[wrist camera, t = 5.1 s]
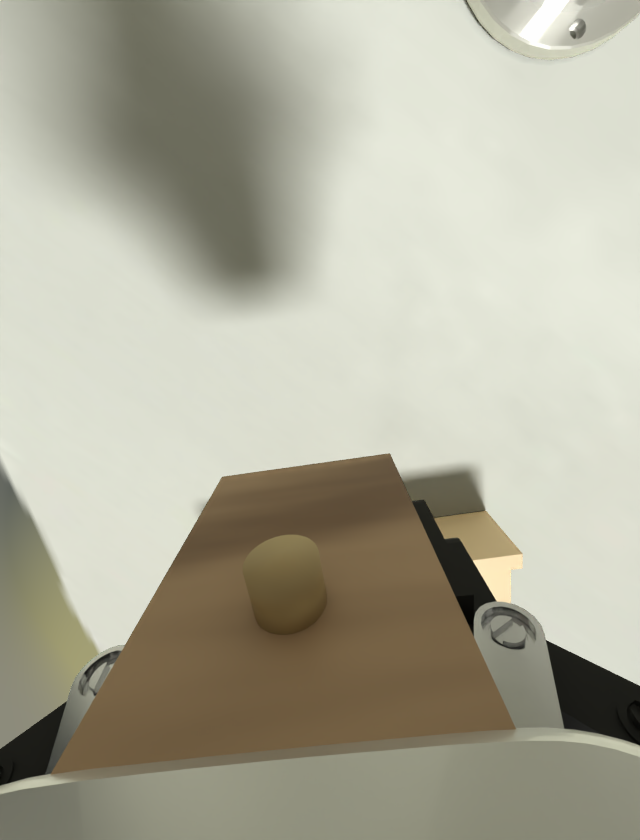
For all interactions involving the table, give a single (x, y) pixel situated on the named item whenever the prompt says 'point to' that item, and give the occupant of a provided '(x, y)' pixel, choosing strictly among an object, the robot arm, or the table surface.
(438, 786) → the robot arm
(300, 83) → the table surface
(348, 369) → the table surface
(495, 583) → the cleat board
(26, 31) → the table surface
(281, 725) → the cabinet block
